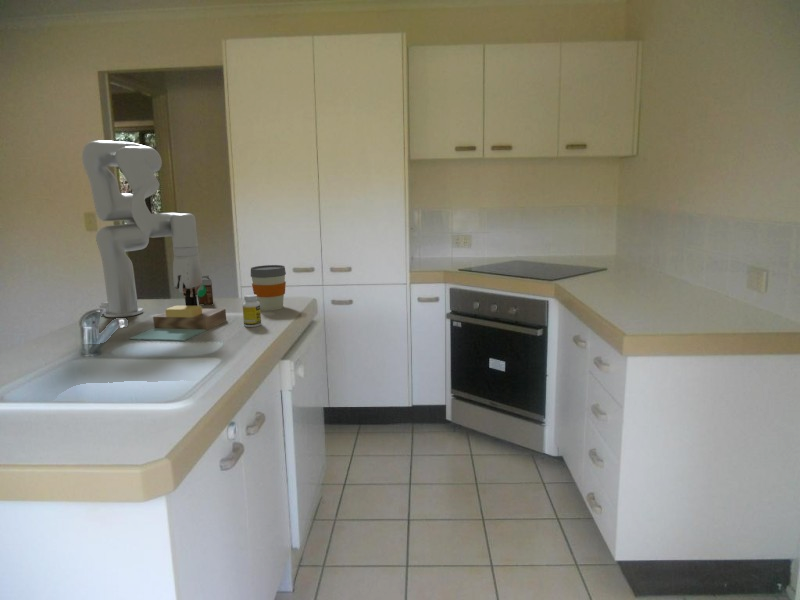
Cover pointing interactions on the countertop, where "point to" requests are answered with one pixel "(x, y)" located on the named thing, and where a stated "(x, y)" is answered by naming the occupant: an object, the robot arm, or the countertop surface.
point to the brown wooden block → (191, 320)
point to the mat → (168, 334)
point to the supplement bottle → (251, 311)
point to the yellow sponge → (183, 311)
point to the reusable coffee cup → (269, 286)
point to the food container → (205, 291)
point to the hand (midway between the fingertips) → (191, 308)
